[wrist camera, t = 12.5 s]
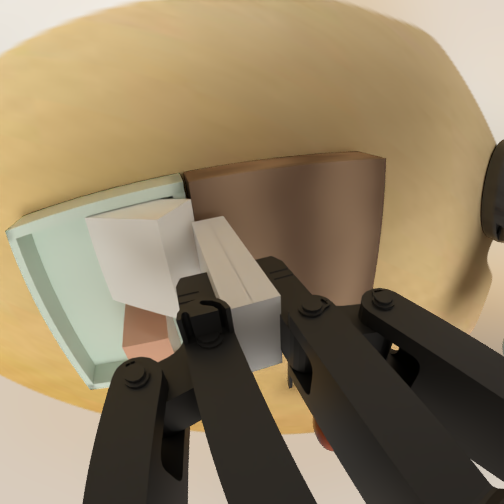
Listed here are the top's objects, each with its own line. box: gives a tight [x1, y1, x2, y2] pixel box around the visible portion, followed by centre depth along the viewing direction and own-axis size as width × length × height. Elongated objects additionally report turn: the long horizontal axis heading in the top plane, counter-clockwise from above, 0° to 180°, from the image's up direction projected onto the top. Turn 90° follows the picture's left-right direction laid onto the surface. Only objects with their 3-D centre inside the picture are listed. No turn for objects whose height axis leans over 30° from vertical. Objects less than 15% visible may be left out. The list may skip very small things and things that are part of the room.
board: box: [184, 152, 386, 306], centre depth 18 cm, size 12×13×3 cm
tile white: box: [85, 199, 201, 318], centre depth 13 cm, size 5×5×2 cm
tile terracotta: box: [122, 304, 181, 362], centre depth 16 cm, size 5×5×2 cm
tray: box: [5, 173, 186, 390], centre depth 16 cm, size 10×13×3 cm
